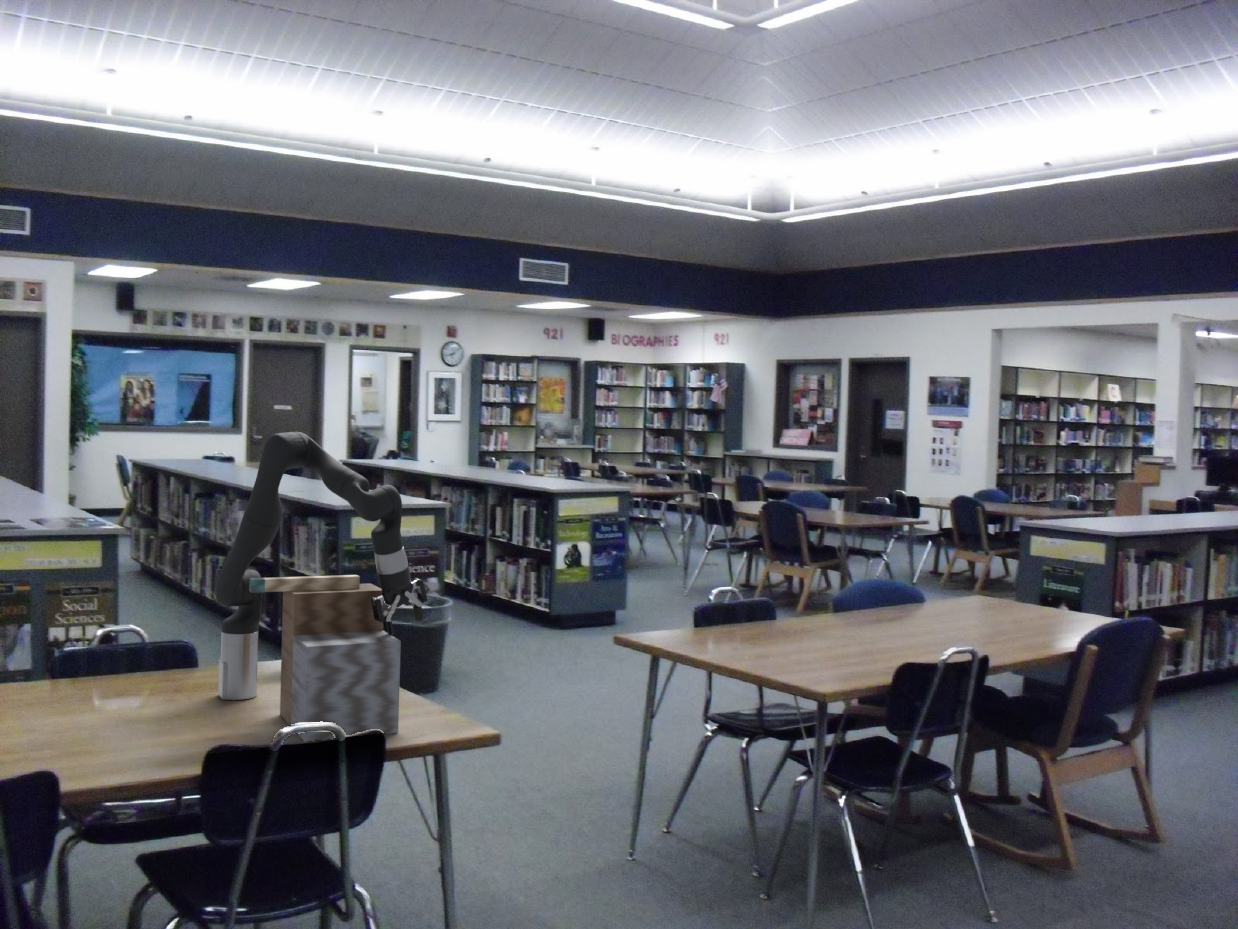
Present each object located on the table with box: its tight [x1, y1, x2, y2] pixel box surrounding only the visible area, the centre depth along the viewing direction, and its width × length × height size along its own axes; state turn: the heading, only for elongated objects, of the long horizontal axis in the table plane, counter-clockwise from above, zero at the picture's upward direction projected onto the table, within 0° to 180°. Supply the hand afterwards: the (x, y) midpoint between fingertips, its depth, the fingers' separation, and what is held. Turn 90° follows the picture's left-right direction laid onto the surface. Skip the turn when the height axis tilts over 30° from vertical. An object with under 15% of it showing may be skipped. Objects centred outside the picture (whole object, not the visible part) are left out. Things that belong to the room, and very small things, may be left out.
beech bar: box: [249, 574, 361, 593], centre depth 280 cm, size 26×3×3 cm, turn 119°
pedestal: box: [279, 582, 402, 743], centre depth 278 cm, size 22×26×32 cm
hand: (404, 627), depth 282 cm, fingers open, 8 cm apart
